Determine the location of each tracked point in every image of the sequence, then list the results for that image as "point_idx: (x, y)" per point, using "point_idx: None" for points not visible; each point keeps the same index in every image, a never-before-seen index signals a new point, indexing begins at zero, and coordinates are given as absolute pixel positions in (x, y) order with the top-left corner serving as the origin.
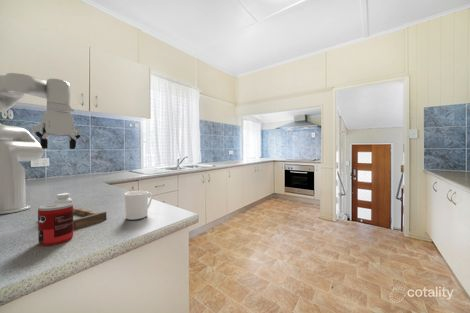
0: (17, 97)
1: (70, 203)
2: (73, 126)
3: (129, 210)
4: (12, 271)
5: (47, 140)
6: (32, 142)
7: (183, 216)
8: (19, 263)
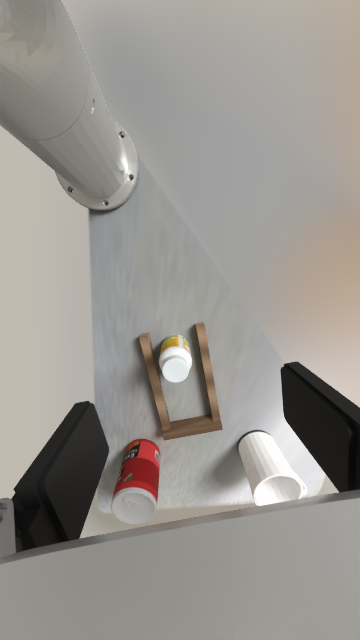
0: None
1: (153, 510)
2: None
3: (244, 468)
4: (102, 494)
5: (81, 531)
6: None
7: None
8: (107, 483)
